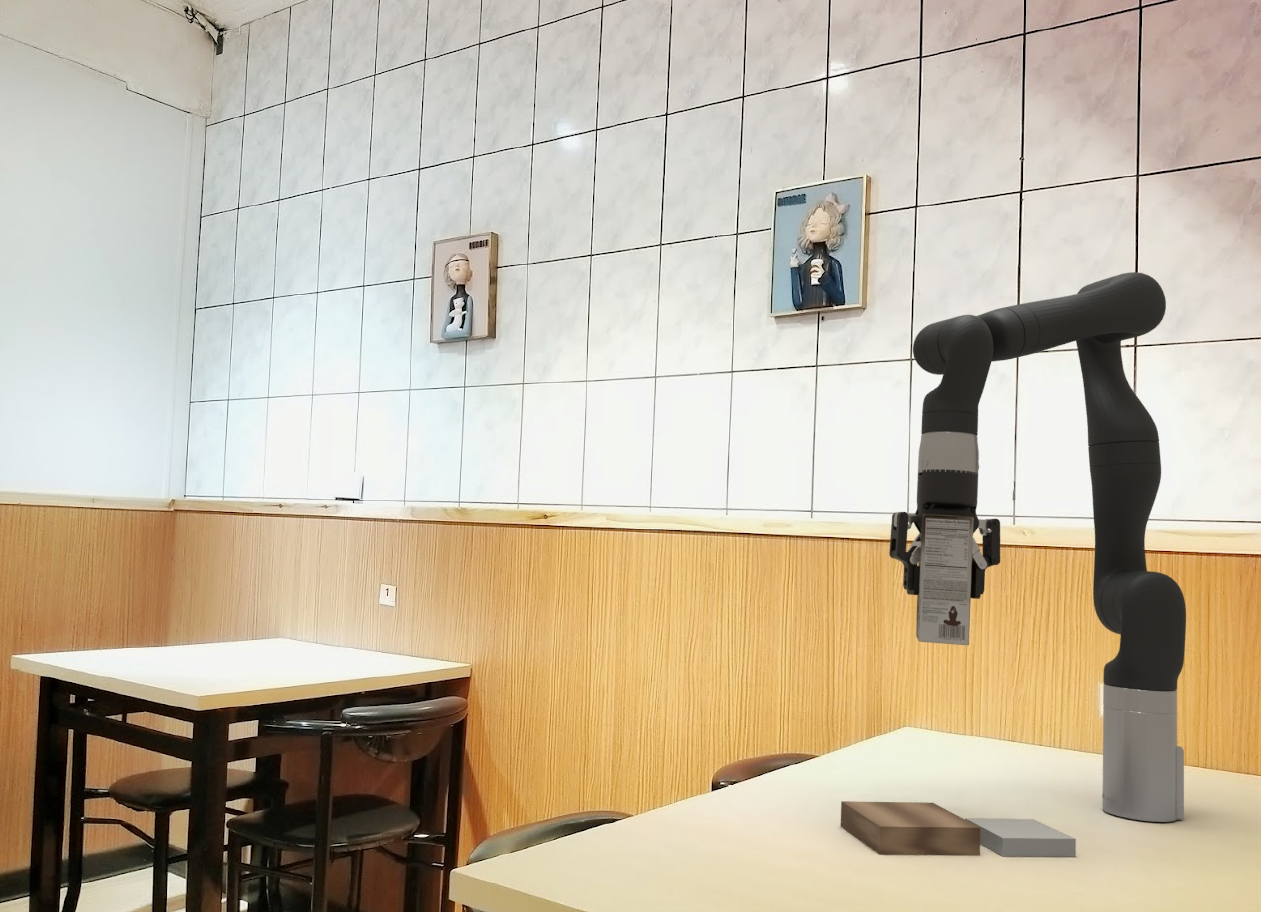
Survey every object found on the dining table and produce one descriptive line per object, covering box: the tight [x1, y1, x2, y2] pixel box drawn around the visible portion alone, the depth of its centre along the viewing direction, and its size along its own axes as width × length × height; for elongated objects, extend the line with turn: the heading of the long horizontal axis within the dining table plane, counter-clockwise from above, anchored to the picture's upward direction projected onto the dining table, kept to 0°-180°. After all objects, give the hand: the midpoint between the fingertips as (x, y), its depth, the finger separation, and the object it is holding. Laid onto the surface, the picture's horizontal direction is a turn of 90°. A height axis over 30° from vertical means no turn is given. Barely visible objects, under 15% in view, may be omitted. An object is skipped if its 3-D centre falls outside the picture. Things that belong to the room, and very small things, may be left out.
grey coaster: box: [964, 817, 1077, 858], centre depth 124 cm, size 9×9×2 cm
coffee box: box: [915, 514, 974, 646], centre depth 135 cm, size 9×6×16 cm
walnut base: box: [840, 800, 981, 856], centre depth 124 cm, size 12×12×3 cm
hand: (943, 596), depth 135 cm, fingers closed on coffee box, 8 cm apart
